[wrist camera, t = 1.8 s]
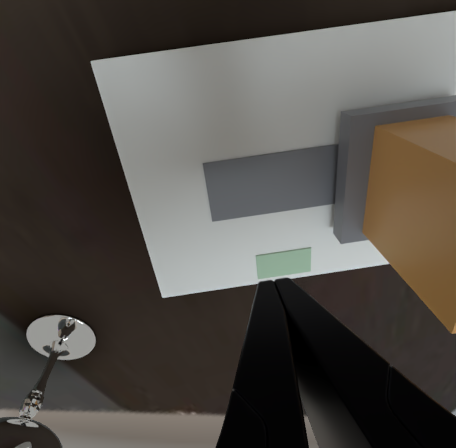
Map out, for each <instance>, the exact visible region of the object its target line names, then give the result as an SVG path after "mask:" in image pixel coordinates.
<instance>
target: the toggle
mask: <svg viewBox="0 0 456 448" xmlns="http://www.w3.org/2000/svg"><path fill="white" fill-rule="evenodd" d="M333 234H334V235H335V237H336V238H337V239H338V241H339V242H340V244H345V243H352V242H359V241H365V240H369V241H370V242H371V243H372V244H373V245H374V246H375V247H376V249H377V250H378V251H379V252H380V253H381V254H382V255H383V257H384V258H385V259H386V260H387V261H388V262H389V263H390V264H391V266H392V267H393V268H394V269H395V270H396V271H397V272H398V274H399V275H400V276H401V277H402V278H403V279H404V280H405V282H406V283H407V284H408V285H409V286H410V287H411V288H412V289H413V291H414V292H415V293H416V294H417V295H418V296H419V297H420V299H421V300H422V301H423V302H424V303H425V304H426V305H427V306H428V308H429V309H430V310H431V311H432V312H433V313H434V314H435V316H436V317H437V318H438V319H439V320H440V321H441V322H442V324H443V325H444V326H445V327H446V328H447V329H448V330H449V331H450V333H451V334H454V333H456V95H453V96H446V97H439V98H432V99H425V100H418V101H411V102H404V103H397V104H390V105H383V106H376V107H369V108H362V109H355V110H348V111H341V117H340V133H339V148H338V164H337V179H336V195H335V210H334V226H333Z"/></svg>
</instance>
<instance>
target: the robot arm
mask: <svg viewBox="0 0 456 448" xmlns="http://www.w3.org/2000/svg"><path fill="white" fill-rule="evenodd" d="M300 397H301V398H300ZM301 399H302V402H303V405H304V408H305V410H306V413H307V416H308V419H309V422H310V424H311V427H312V430H313V433H314V435H315V438H316V441H317V444H318V446H319V448H456V416H455V415H453V414H452V413H451V412H449V411H448V410H447V409H445V408H444V407H443V406H441V405H440V404H439V403H437V402H436V401H435V400H433V399H432V398H431V397H429V396H428V395H427V394H426V393H425V392H423V391H422V390H421V389H420V388H418V387H417V386H416V385H415V384H414V383H412V382H411V381H410V380H409V379H407V378H406V377H405V376H404V375H403V374H402V373H400V372H399V371H398V370H397V369H396V368H395V367H393V366H391V367H390V363H389V362H387V361H386V360H385V359H384V358H383V357H382V356H380V355H379V354H378V353H377V352H376V351H374V350H373V349H372V348H371V347H370V346H369V345H367V344H366V343H365V342H364V341H363V340H362V339H360V338H359V337H358V336H357V335H356V334H355V333H353V332H352V331H351V330H350V329H349V328H348V327H346V326H345V325H344V324H343V323H342V322H341V321H339V320H338V319H337V318H336V317H335V316H334V315H332V314H331V313H330V312H329V311H328V310H326V309H325V308H324V307H323V306H322V305H321V304H319V303H318V302H317V301H316V300H315V299H314V298H312V297H311V296H310V295H309V294H308V293H307V292H305V291H304V290H303V289H302V288H301V287H300V286H298V285H297V284H296V283H295V282H294V281H293V280H291V279H290V278H287V277H286V278H279V279H275V280H274V281H273V280H266V281H260V282H259V283H258V285H257V289H256V293H255V297H254V302H253V306H252V310H251V314H250V318H249V322H248V326H247V331H246V335H245V339H244V343H243V347H242V351H241V355H240V360H239V364H238V368H237V372H236V376H235V380H234V384H233V391H232V392H231V396H230V400H229V404H228V408H227V412H226V415H225V420H224V423H223V426H222V430H221V433H220V436H219V439H218V442H217V445H216V448H309V445H308V439H307V433H306V428H305V422H304V416H303V410H302V404H301Z"/></svg>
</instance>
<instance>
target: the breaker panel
mask: <svg viewBox="0 0 456 448" xmlns="http://www.w3.org/2000/svg"><path fill="white" fill-rule="evenodd" d="M90 62H91V66H92V69H93V72H94V75H95V79H96V82H97V85H98V89H99V92H100V95H101V98H102V102H103V105H104V108H105V111H106V115H107V118H108V121H109V125H110V128H111V131H112V134H113V138H114V141H115V144H116V147H117V151H118V154H119V157H120V161H121V164H122V167H123V170H124V174H125V177H126V180H127V183H128V187H129V190H130V193H131V197H132V200H133V203H134V206H135V210H136V213H137V216H138V220H139V223H140V226H141V229H142V233H143V236H144V239H145V242H146V246H147V249H148V252H149V256H150V259H151V262H152V265H153V269H154V272H155V275H156V278H157V282H158V285H159V288H160V292H161V295H162V298H165V297H172V296H179V295H185V294H192V293H199V292H205V291H212V290H219V289H225V288H232V287H238V286H245V285H252V284H258V283H259V282H260V281H266V280H273V281H274V280H275V279H279V278H286V277H287V278H290V279H292V278H298V277H305V276H311V275H318V274H325V273H331V272H338V271H345V270H351V269H358V268H365V267H371V266H378V265H384V264H390V263H389V262H388V261H387V260H386V259H385V258H384V257H383V255H382V254H381V253H380V252H379V251H378V250H377V249H376V247H375V246H374V245H373V244H372V243H371V242H370V241H369V240H365V241H359V242H352V243H345V244H340V242H339V241H338V239H337V238H336V237H335V235H334V234H333V226H334V210H335V195H336V179H337V164H338V148H339V133H340V117H341V111H348V110H355V109H362V108H369V107H376V106H383V105H390V104H397V103H404V102H411V101H418V100H425V99H432V98H439V97H446V96H453V95H456V11H449V12H442V13H434V14H427V15H420V16H413V17H405V18H398V19H391V20H383V21H376V22H369V23H362V24H354V25H347V26H340V27H332V28H325V29H318V30H311V31H303V32H296V33H289V34H282V35H274V36H267V37H260V38H252V39H245V40H238V41H231V42H223V43H216V44H209V45H201V46H194V47H187V48H180V49H172V50H165V51H158V52H150V53H143V54H136V55H129V56H121V57H114V58H107V59H100V60H94V61H90Z"/></svg>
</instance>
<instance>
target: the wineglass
mask: <svg viewBox="0 0 456 448" xmlns="http://www.w3.org/2000/svg"><path fill="white" fill-rule="evenodd" d="M26 338H27V341H28V343H29V344H30V346H31V347H32V348H33V349H34V350H36V351H37V352H39V353H40V354H42V355H44V356H47V357H49V358H48V360H47V363H46V365H45V367H44V369H43V372H42V374H41V376H40V378H39V379H38V381H37V383H36V384H35V386H34V387H33V389H32V390H31V391H30V393H29V394H27V396H26V397H25V399H24V400H23V401H22V403H21V406H20V410H19V414H20V417H4V418H0V448H63V447H62V444H61V442H60V440H59V438H58V437H57V436H56V434H55V433H53V432H52V430H50V429H49V428H48V427H47V426H45V425H43V424H41V423H40V422H37V421H34V420H31V419H32V418H33V417H34V416H35V415H36V414H37V413H38V411H39V409H40V408H41V406H42V403H43V399H44V391H45V387H46V383H47V379H48V377H49V375H50V373H51V370H52V368H53V366H54V364H55V362H56V360H57V359H59V360H73V359H78V358H81V357H84V356H86V355H87V354H89V353H90V352H91V351H92V350H93V349H94V347H95V345H96V335H95V333H94V331H93V330H92V328H91V327H90V326H89V325H87V324H86V323H85V322H83V321H81V320H79V319H77V318H75V317H71V316H67V315H60V314H52V315H46V316H42V317H39V318H37V319H36V320H34V321H33V322H32V323H31V324H30V325H29V326H28V328H27V331H26Z"/></svg>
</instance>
